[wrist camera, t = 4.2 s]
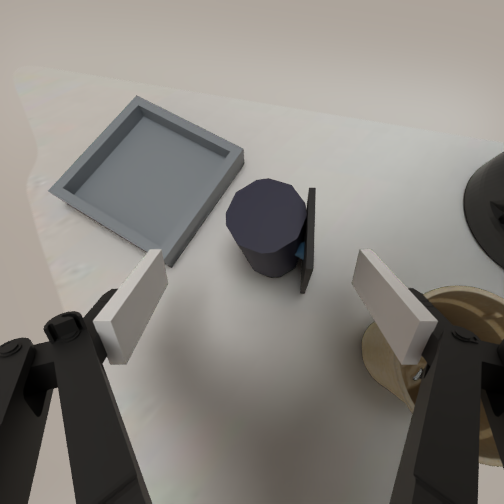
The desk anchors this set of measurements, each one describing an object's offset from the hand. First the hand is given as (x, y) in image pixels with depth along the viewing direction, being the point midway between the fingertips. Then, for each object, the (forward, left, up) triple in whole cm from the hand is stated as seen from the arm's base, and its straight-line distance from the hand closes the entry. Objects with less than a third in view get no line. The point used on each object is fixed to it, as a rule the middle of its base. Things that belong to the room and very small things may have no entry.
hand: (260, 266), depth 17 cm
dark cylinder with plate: (0, -3, -8) cm, 9 cm away
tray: (+15, -4, -8) cm, 18 cm away
